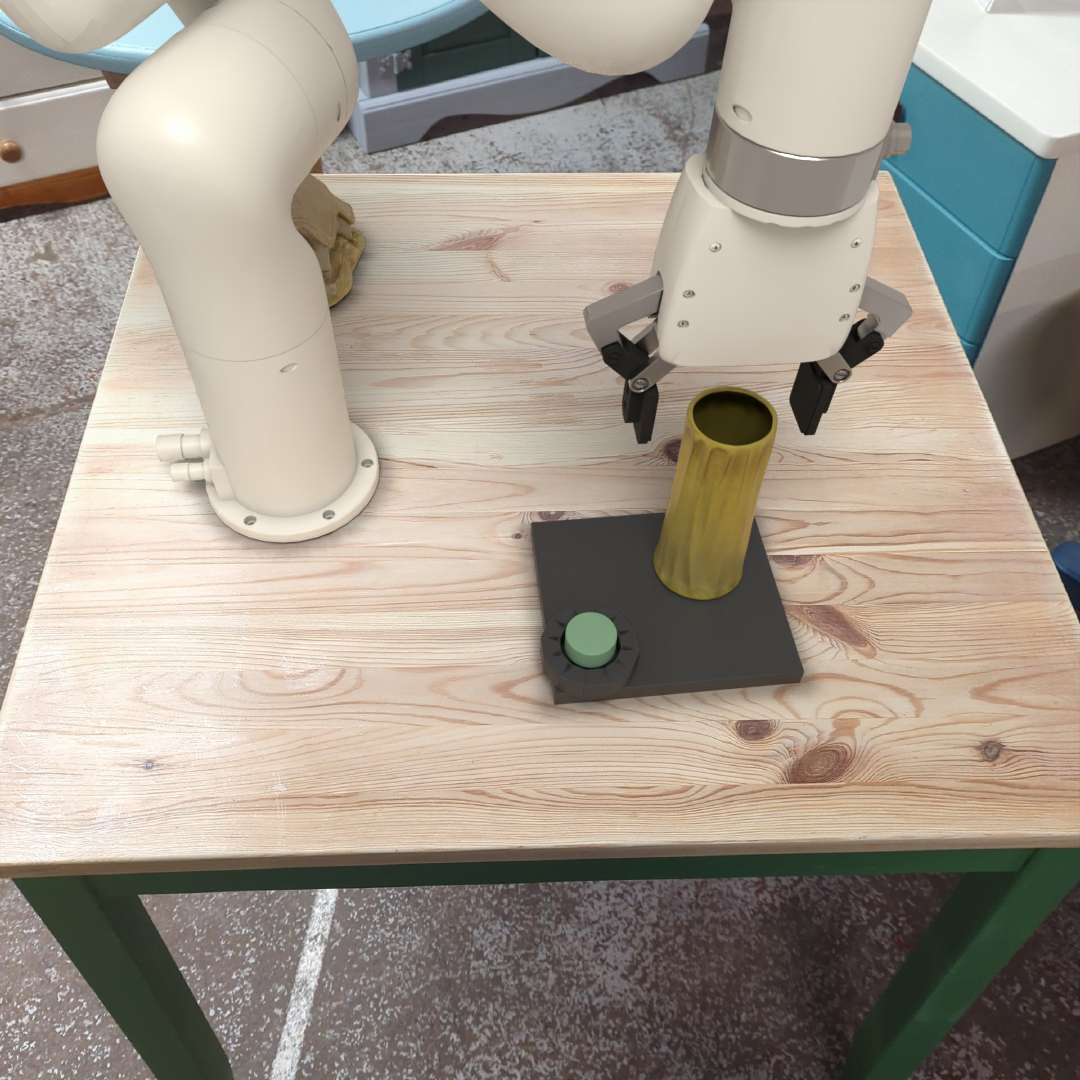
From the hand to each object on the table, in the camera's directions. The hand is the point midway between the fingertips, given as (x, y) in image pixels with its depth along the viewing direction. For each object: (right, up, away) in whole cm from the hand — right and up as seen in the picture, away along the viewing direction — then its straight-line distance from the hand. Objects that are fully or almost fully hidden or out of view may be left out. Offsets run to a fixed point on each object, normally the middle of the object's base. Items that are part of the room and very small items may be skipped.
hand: (720, 422), depth 58 cm
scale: (-2, -11, +10) cm, 15 cm away
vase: (0, -9, +11) cm, 14 cm away
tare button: (-7, -14, +5) cm, 16 cm away
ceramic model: (-32, +18, +33) cm, 49 cm away
